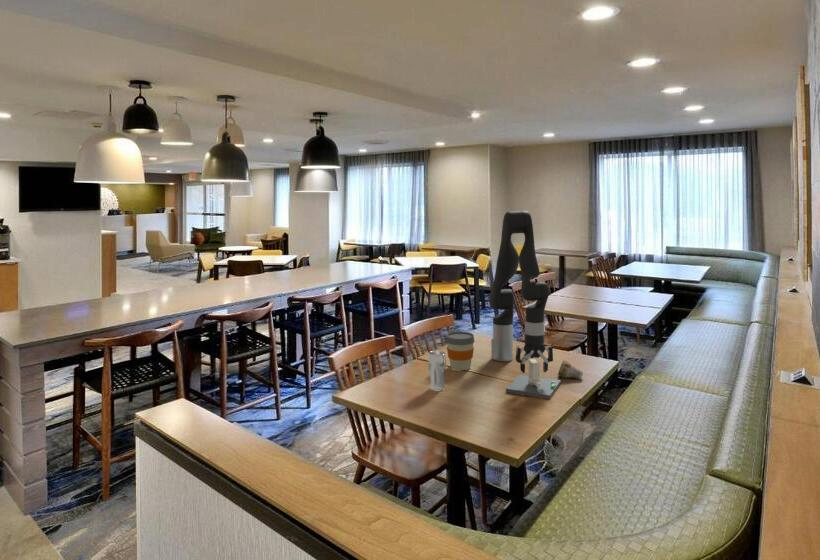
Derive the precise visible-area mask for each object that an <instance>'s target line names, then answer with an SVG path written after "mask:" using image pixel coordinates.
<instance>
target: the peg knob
mask: <svg viewBox="0 0 820 560" xmlns="http://www.w3.org/2000/svg"><path fill="white" fill-rule="evenodd" d="M540 368H541V367H540V363H539V362H538V361H537V359H536V358H529V359H528V375H527V376H528V384H529V385H533V386H537V387H540V377H541V376H540V371H541V370H540Z"/></svg>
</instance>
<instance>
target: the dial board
mask: <svg viewBox="0 0 820 560" xmlns="http://www.w3.org/2000/svg"><path fill="white" fill-rule="evenodd" d="M528 376H529V375H526V374H519V375H518V376H517V377H516V378H515V379H514V380H513V381H512V382H511V383H510V384H508V386H507V387H505V393H508V392H510V393H509V394H514V393H516V394H515V395H520V394H523V395H522V396H526V395H529V396H528V397H532V396H535V397H534V398H539V397H542V398H541V399H545V398H547V399H546V400H550V399H551V398H552V397H553V395H554V394H555V393H556V392H557V390H558V389H559V387H560V386H561V384H562V383H561V380H560V379H555V378H549V377H547V378H546V377H541V376H540V387H537V386H533V385H529V384H528ZM554 392H555V393H554Z"/></svg>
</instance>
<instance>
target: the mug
mask: <svg viewBox="0 0 820 560" xmlns="http://www.w3.org/2000/svg"><path fill="white" fill-rule="evenodd" d="M583 374H584V372H583V370H581V369H579V368H577V367H576V366H575V365H573V364H572V363H571V362H570V361H568V360H562V363H561V364H560V367H559V370H558V373H557V375H558V376H559V377H561V378H563V379H564V378H565V379H570V378H574V379H576V380H580V379H582V378H583Z"/></svg>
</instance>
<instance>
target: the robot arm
mask: <svg viewBox="0 0 820 560" xmlns="http://www.w3.org/2000/svg"><path fill="white" fill-rule="evenodd" d="M501 227H502V228H501V240H500V244H499V250H498V255H497V260H496V265H495V274H494V277H493V281H492V286H491V290H490V292H489V299H488V301H489V306H490V308H491V309H493V310H503V311H502V312H499V313H498V314H496V315H494V316H493V318H492V339H491V340H490V341H491V342H490V343H491V347H490V348H491V356H490V357H491V360H494V361H497V362H509V361H512V360H513V358H514V357H513V356H514V353H513V351H514V347H513V346H514V340H513V339H514V311H515V294H514V292H513V290H512V289H510V288H504V286H505V285H506V284H507V283H508V282H510V280H511V279H513V277H514V276H515V275H516V273H517V270H518V268H520V269H519V270H520V273H521V286H520V287H521V288H520V289H521V290H520V294H521V297H522V299H523V300H525V301H535V303H534V304H532V305H529V306H527V307H526V308H525V322H524V345H523V347H521V346H516V349H515V350H516V351H515V361H516V362H517V363H519V364H520V365H519V366H520V368H519V370H520V371H521V372H522V374H525V373H526V362H527V361H529V359H539V358H541V359H542V362H543V363H542V364H543V365H542V371H543V373H547V372H548V371H549V363H550V362H551V363H552V362H553V361H554V357H553V356H554V354H553V351H554V349H553V347H552V345H547V346H545V309H546V306H547V302H548V299H549V295H550V287H549V285H548V283H546V282H545V281H534V282H533V281H532V280H534V279H537V278H538V277H539V276H540V274H541V272H540V271H541V270H540V268H539V267H540V266H539V264H538V260H537V254H536V248H535V236H534V234H535V233H534V227H533V218H532V215H531V213H530V212H529V211H528V210H515V211H514V210H513V211H512V210H511V211H506V212H505V214H504V215H503V220H502V226H501ZM514 234H523V235H524V243H523V245H522V248H521V250H520V252H519V253H518V251H517V250H516V247H515V246H514V244H513V242H512V235H514ZM531 281H532V282H531ZM523 351H524V354H523V356H522V357H521V354H522V353H523ZM545 351H546V352H547V357H546V356H545V354H544V352H545Z"/></svg>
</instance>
